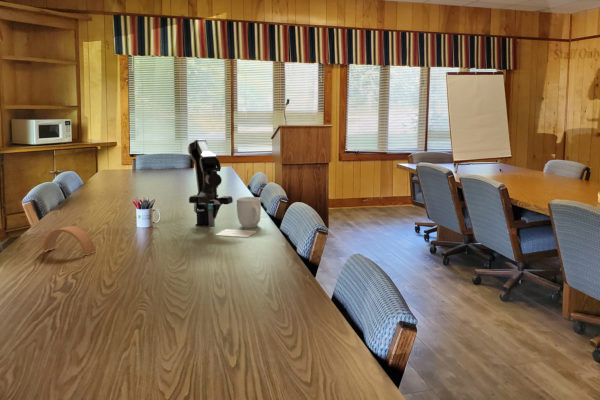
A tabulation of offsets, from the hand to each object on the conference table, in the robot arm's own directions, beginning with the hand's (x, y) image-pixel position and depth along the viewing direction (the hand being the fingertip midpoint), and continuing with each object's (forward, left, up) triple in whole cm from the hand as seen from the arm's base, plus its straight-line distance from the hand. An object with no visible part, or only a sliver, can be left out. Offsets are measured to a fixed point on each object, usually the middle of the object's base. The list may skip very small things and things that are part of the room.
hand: (211, 218), depth 242 cm
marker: (0, 0, -4) cm, 4 cm away
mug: (+13, +13, -6) cm, 20 cm away
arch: (-40, -45, -6) cm, 60 cm away
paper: (+12, -1, -6) cm, 13 cm away
